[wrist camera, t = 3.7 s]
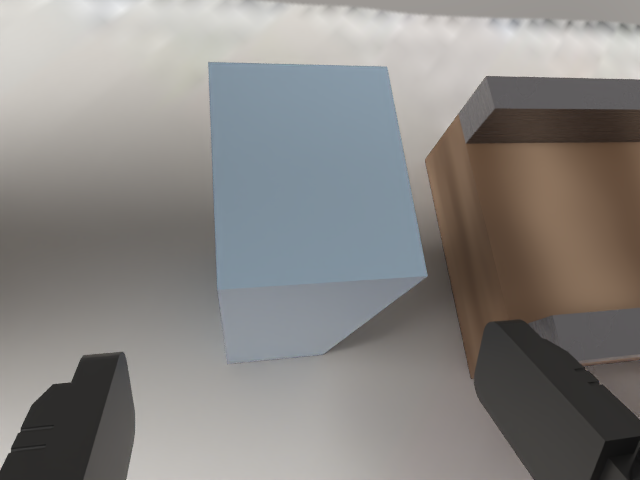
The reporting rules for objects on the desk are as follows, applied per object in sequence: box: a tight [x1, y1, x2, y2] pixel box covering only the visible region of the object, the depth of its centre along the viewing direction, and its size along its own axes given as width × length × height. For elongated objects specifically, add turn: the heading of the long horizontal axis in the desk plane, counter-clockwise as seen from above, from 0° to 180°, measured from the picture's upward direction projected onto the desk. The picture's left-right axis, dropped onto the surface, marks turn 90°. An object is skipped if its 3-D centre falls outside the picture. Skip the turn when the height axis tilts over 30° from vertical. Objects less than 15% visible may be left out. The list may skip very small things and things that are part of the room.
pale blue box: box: [208, 62, 428, 364], centre depth 15 cm, size 4×5×12 cm
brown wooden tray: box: [425, 76, 640, 379], centre depth 21 cm, size 14×11×6 cm
